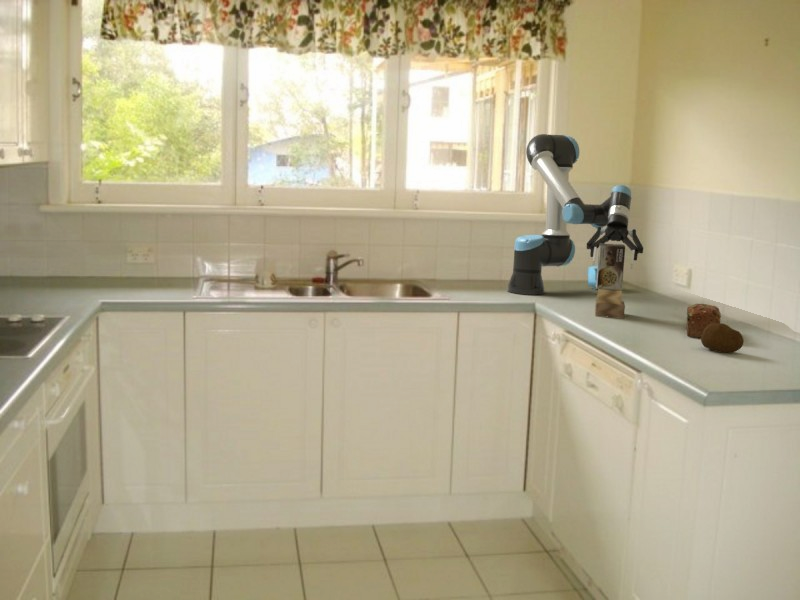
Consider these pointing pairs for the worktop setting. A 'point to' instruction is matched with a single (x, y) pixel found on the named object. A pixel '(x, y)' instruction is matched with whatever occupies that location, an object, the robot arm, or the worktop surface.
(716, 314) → the bread
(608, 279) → the coffee box
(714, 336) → the potato
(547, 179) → the robot arm
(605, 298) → the tower top
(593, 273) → the teapot
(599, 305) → the tower base
